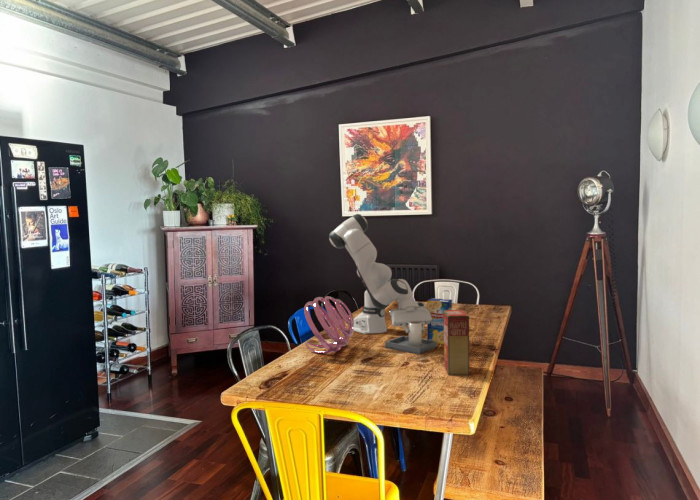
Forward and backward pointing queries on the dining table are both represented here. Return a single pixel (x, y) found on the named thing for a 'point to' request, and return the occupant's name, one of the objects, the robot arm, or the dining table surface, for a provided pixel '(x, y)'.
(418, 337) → the cup
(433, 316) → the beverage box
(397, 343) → the tray
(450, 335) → the food packaging
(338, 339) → the spiral basket
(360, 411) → the dining table surface
